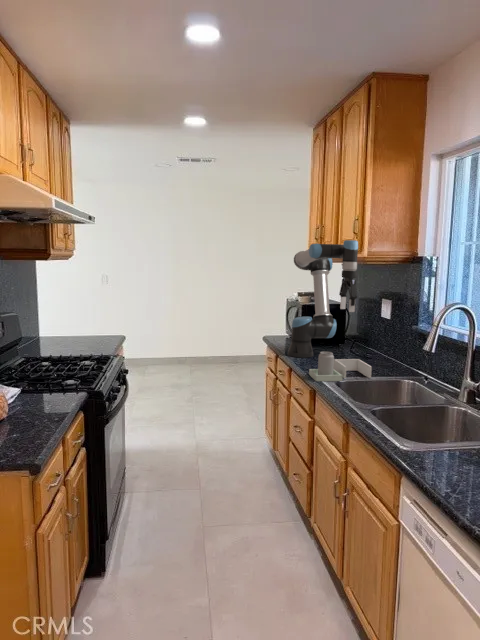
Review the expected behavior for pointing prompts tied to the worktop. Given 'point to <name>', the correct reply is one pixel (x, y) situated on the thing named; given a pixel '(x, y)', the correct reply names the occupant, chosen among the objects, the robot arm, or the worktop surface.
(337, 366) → the bay
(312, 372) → the tray
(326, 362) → the can
